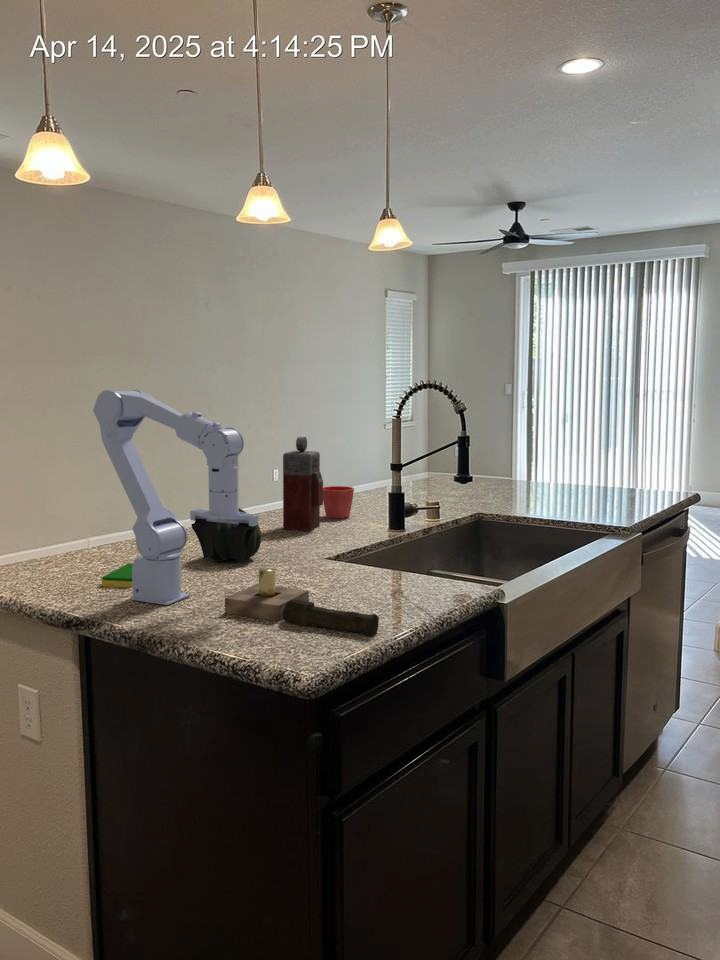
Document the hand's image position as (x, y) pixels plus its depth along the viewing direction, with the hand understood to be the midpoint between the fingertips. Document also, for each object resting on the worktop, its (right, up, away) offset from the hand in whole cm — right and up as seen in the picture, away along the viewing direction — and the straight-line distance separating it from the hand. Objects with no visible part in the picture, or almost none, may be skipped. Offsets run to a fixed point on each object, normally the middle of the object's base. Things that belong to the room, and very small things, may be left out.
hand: (224, 559), depth 156 cm
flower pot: (+19, +3, +108) cm, 110 cm away
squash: (-6, -5, +44) cm, 45 cm away
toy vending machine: (+10, +1, +87) cm, 88 cm away
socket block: (+8, -10, +1) cm, 13 cm away
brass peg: (+8, -10, +1) cm, 13 cm away
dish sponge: (-25, -8, +23) cm, 35 cm away
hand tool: (+21, -12, -11) cm, 26 cm away
